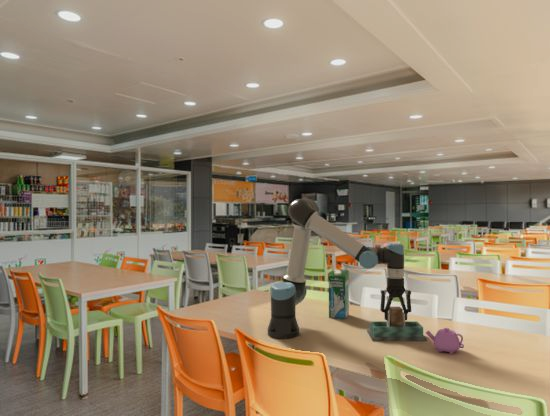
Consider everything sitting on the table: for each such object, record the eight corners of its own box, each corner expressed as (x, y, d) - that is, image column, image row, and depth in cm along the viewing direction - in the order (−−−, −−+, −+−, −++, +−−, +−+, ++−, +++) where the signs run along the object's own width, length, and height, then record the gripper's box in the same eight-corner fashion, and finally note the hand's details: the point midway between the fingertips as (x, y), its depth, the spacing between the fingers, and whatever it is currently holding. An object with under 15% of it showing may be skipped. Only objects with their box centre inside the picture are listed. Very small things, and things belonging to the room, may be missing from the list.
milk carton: (328, 317, 221) (328, 271, 221) (332, 313, 229) (332, 268, 229) (345, 319, 217) (345, 272, 217) (348, 314, 226) (348, 269, 226)
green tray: (372, 340, 183) (372, 328, 183) (367, 332, 195) (367, 320, 195) (426, 340, 182) (426, 328, 182) (418, 332, 194) (418, 320, 194)
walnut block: (391, 335, 186) (391, 309, 186) (388, 332, 191) (388, 306, 191) (402, 335, 186) (402, 309, 186) (399, 332, 191) (399, 306, 191)
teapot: (462, 357, 162) (461, 334, 162) (422, 350, 171) (422, 328, 170) (465, 349, 171) (465, 327, 171) (428, 343, 179) (428, 322, 179)
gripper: (376, 278, 185) (376, 329, 185) (419, 278, 184) (419, 329, 185) (372, 275, 192) (373, 324, 193) (414, 275, 192) (414, 324, 192)
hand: (395, 327), depth 189 cm, fingers open, 6 cm apart
